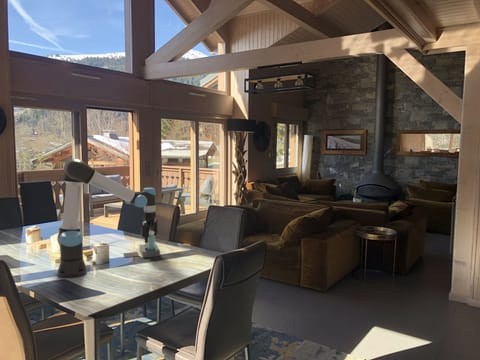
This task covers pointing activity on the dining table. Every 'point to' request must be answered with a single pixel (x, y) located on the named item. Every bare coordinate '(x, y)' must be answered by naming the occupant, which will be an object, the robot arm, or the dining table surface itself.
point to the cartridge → (150, 241)
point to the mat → (131, 254)
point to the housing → (149, 253)
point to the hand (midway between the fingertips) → (150, 246)
